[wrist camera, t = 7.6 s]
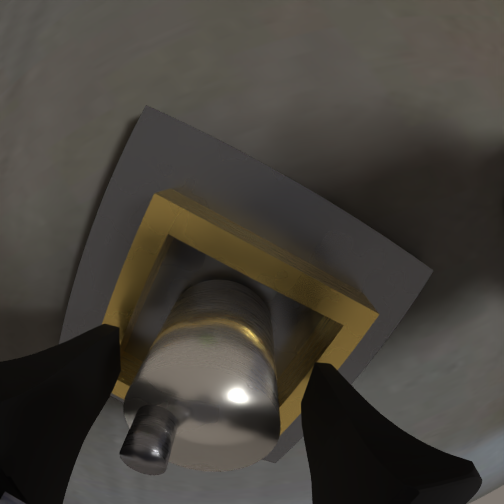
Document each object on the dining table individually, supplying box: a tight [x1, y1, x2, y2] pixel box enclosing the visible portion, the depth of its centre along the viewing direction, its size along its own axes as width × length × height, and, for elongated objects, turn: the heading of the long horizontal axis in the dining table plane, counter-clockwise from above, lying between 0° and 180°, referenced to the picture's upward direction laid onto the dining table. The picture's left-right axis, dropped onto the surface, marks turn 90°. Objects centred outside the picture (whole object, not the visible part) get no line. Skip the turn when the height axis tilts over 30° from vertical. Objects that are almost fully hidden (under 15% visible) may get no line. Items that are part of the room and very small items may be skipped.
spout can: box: [120, 280, 281, 475], centre depth 10 cm, size 4×4×8 cm
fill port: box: [59, 105, 434, 463], centre depth 13 cm, size 14×14×3 cm
